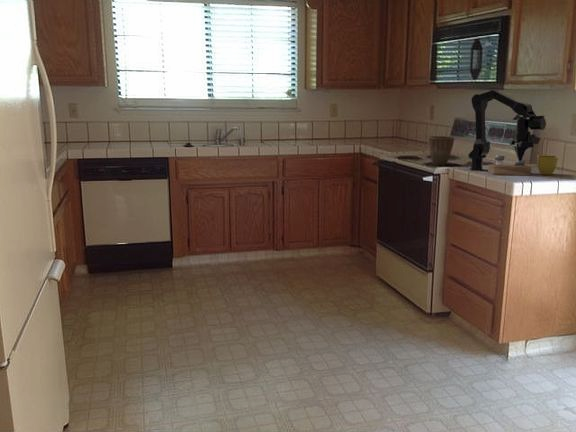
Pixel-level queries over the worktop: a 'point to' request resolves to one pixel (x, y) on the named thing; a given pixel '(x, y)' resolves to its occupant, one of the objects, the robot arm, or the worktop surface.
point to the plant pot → (440, 149)
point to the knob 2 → (519, 162)
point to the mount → (509, 170)
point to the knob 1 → (499, 160)
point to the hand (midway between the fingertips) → (520, 160)
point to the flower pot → (547, 164)
